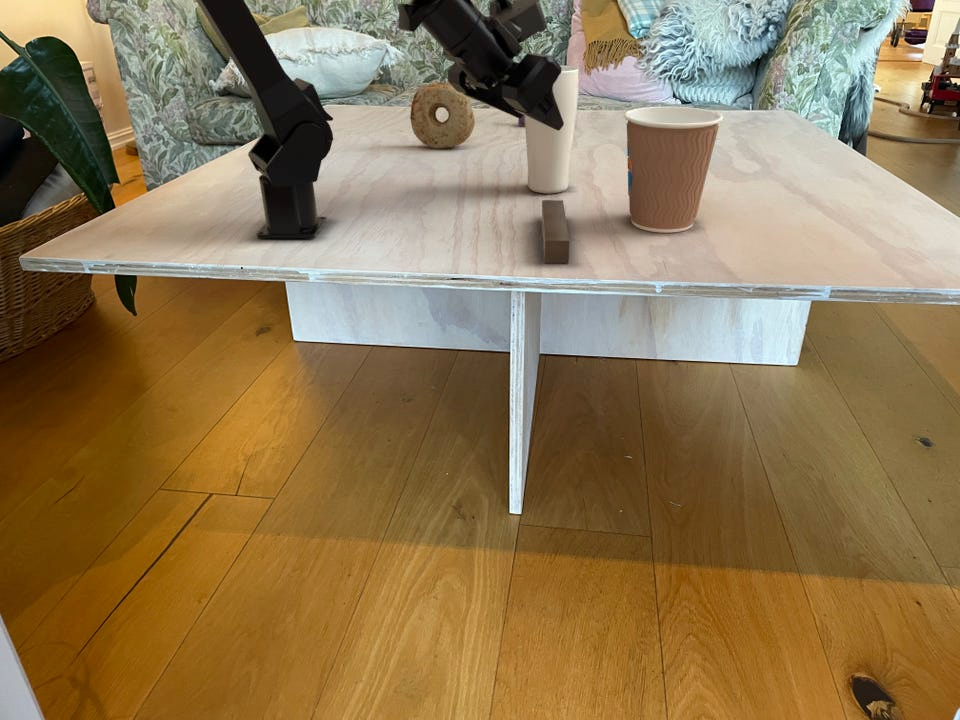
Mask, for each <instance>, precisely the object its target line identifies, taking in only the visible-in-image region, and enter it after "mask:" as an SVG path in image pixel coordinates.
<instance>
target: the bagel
mask: <svg viewBox="0 0 960 720" xmlns="http://www.w3.org/2000/svg"><path fill="white" fill-rule="evenodd" d="M440 108H443V109H445V110H446V111H447V113H448V114H447V115H448V116H447V119H446V120H444V121H440V120H439V119H438V117H437V111H438V109H440ZM409 119H410V125H411V129H412V132H413V134H414V136H415V137H416V138H417V139H418V140H419V141H420V142H421V143H422V144H424V145H425V146H426V147H428V148H432V149H447V148H454V147H457V146H459V145H461V144H464V143H465V142H466V141H467V140H468V139H469V138H470V137H471V134H472V133H473V131H474V128H475V123H476V119H475V114H474V110H473V106H472V102H471V100H470V97H468V96H465V95H464V93H461V92H457V91H456V90H455V89H454V87H453V86H452V85H451V84H450V83H449V82H445V81H444V82H443V81H442V82H440V81H438V82H437V81H436V82H433V83H429V84H426V85H423V86H422V87H420V88H419V89H418V90H417V91H416V92H415V94H414V96H413V99H412V101H411V106H410V117H409Z"/></svg>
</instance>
